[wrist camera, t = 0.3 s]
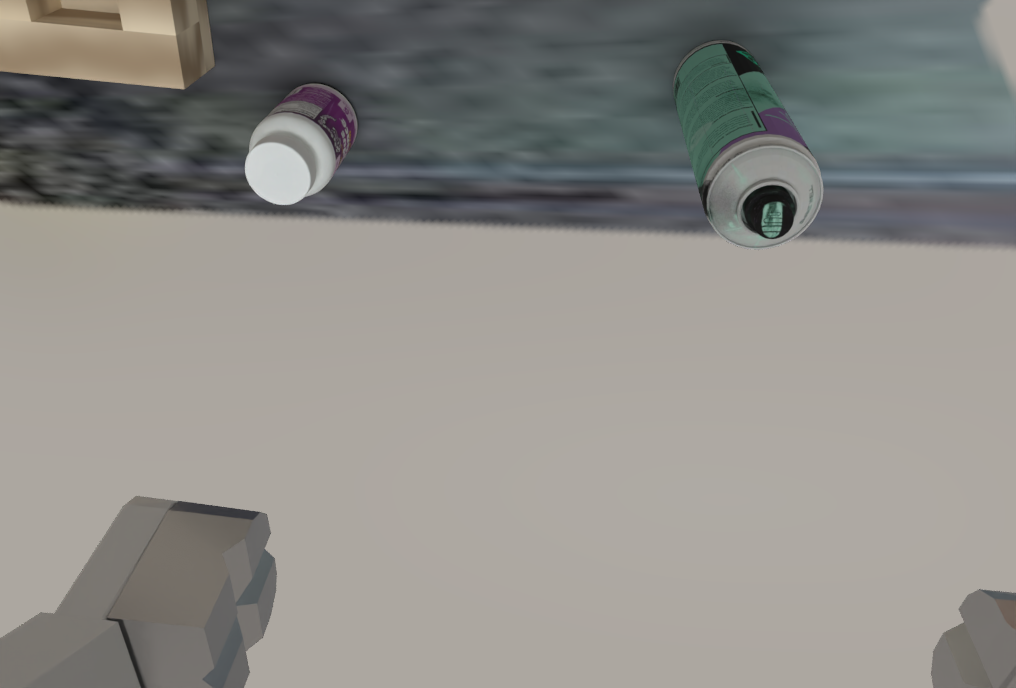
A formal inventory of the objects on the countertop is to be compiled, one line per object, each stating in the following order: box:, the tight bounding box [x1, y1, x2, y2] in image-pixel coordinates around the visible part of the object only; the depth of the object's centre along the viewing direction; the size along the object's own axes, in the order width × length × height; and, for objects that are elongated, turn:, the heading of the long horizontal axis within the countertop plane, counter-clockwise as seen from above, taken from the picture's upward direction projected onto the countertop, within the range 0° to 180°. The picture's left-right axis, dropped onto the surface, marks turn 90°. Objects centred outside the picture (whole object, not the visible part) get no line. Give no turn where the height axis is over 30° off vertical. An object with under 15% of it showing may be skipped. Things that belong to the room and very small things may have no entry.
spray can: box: [673, 40, 823, 250], centre depth 44 cm, size 6×6×20 cm
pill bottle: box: [245, 84, 357, 205], centre depth 51 cm, size 5×5×10 cm
